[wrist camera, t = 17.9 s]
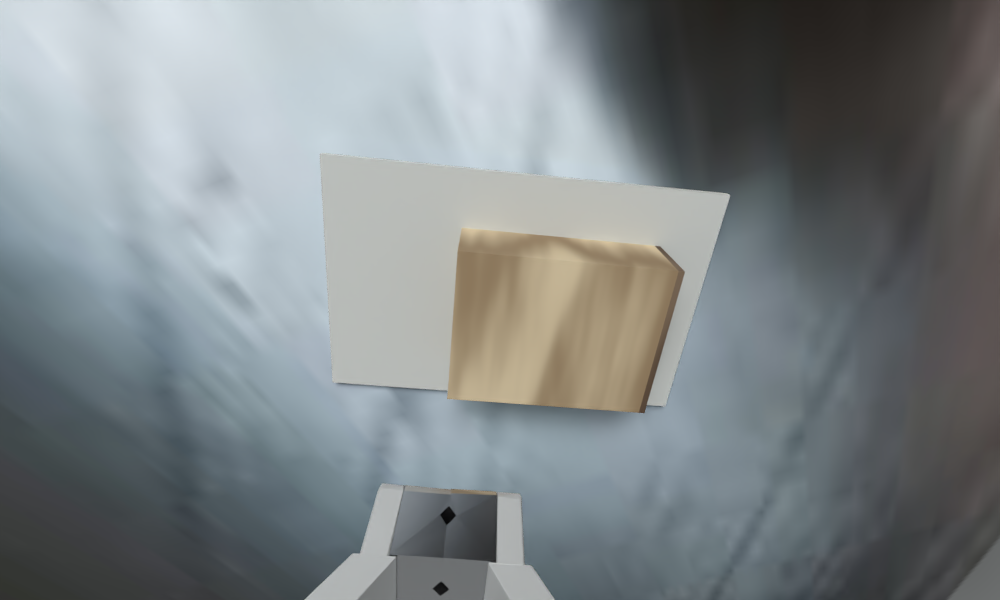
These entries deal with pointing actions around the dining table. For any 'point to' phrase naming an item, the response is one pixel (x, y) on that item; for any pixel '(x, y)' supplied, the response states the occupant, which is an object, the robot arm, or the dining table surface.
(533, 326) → the oak slab
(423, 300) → the felt mat
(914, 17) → the dining table surface
